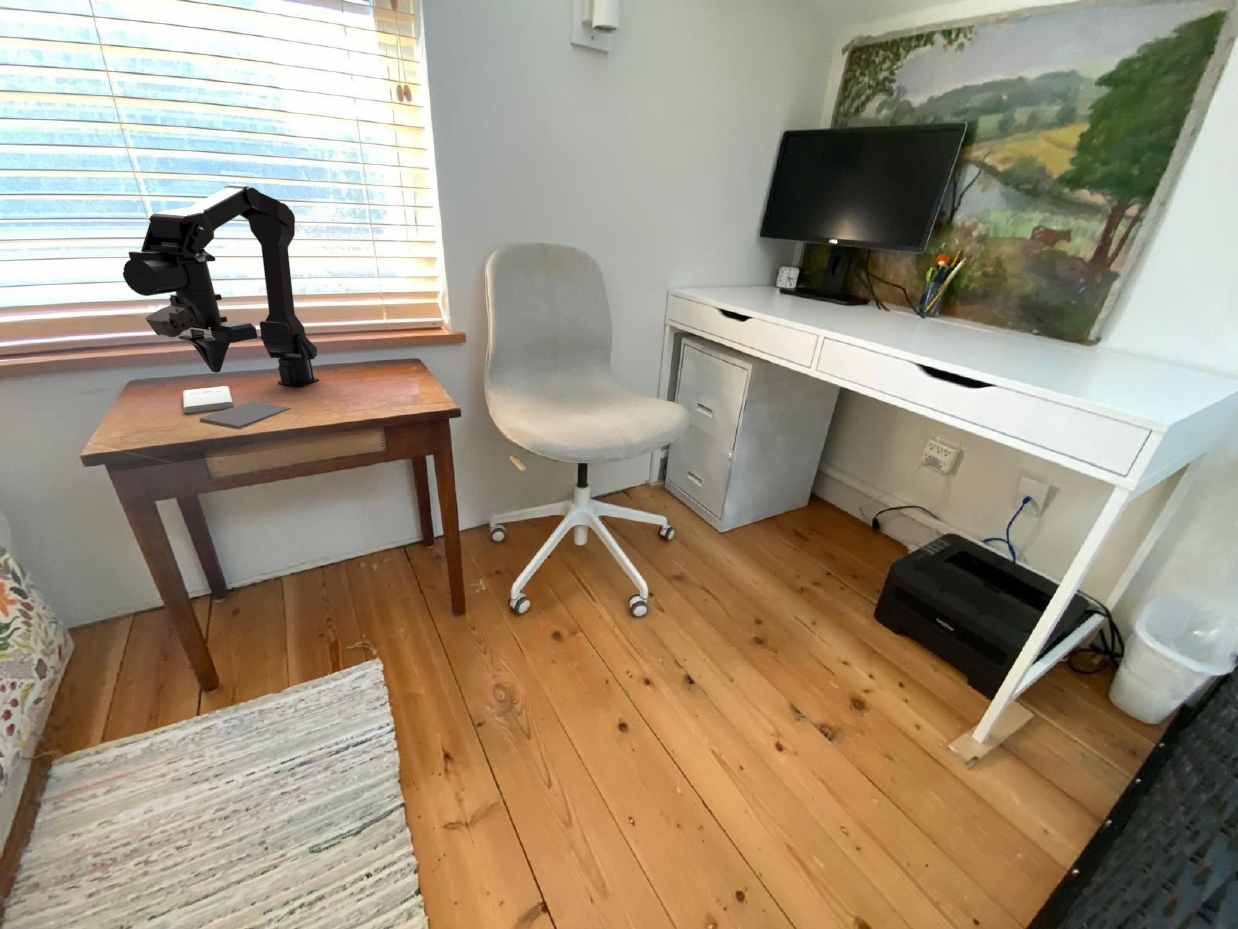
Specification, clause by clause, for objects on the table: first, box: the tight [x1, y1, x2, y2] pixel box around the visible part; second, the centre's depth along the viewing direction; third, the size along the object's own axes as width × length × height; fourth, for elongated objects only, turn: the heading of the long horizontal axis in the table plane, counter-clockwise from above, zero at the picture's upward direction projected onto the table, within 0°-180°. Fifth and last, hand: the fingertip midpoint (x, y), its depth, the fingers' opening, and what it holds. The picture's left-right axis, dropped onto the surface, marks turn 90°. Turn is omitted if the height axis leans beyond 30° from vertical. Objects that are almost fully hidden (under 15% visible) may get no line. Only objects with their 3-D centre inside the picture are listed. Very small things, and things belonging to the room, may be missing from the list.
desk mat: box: [199, 400, 291, 430], centre depth 109 cm, size 12×10×1 cm
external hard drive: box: [182, 385, 235, 415], centre depth 114 cm, size 2×8×12 cm
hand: (216, 372), depth 103 cm, fingers closed
